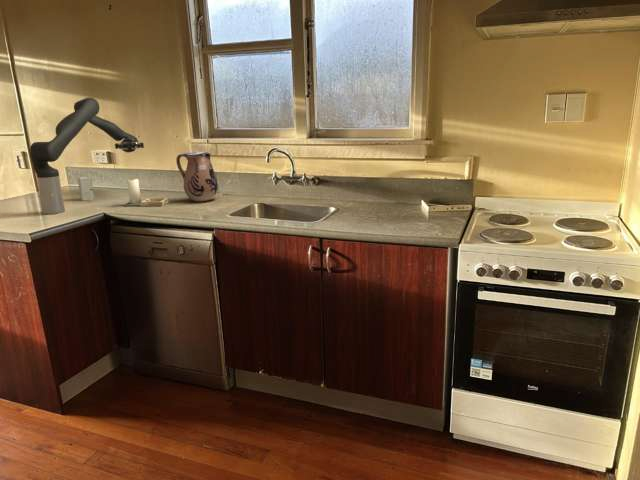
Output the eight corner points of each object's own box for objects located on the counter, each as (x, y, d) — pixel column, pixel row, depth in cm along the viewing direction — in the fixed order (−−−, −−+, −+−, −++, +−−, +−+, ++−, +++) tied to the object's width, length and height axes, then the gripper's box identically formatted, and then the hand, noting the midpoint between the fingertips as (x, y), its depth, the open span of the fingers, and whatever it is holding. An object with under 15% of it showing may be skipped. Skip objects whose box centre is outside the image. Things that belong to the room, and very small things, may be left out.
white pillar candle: (138, 203, 241) (135, 179, 238) (128, 203, 241) (125, 179, 238) (142, 201, 246) (139, 178, 243) (132, 202, 246) (129, 178, 243)
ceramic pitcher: (214, 203, 244) (210, 154, 237) (174, 203, 245) (169, 154, 238) (222, 197, 261) (218, 151, 254) (184, 197, 261) (179, 151, 255)
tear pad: (140, 206, 239) (140, 204, 239) (123, 206, 239) (123, 204, 239) (148, 202, 248) (147, 201, 248) (131, 202, 249) (130, 201, 248)
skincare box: (83, 200, 256) (79, 178, 253) (80, 199, 259) (76, 177, 256) (94, 199, 260) (91, 177, 257) (92, 198, 263) (88, 176, 260)
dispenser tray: (162, 206, 238) (161, 201, 237) (140, 206, 238) (140, 202, 238) (169, 202, 249) (168, 198, 248) (148, 202, 249) (148, 198, 248)
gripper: (114, 138, 258) (114, 139, 243) (142, 137, 263) (143, 138, 248) (116, 152, 260) (115, 154, 245) (143, 151, 265) (144, 153, 250)
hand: (129, 146), depth 247 cm, fingers open, 8 cm apart
